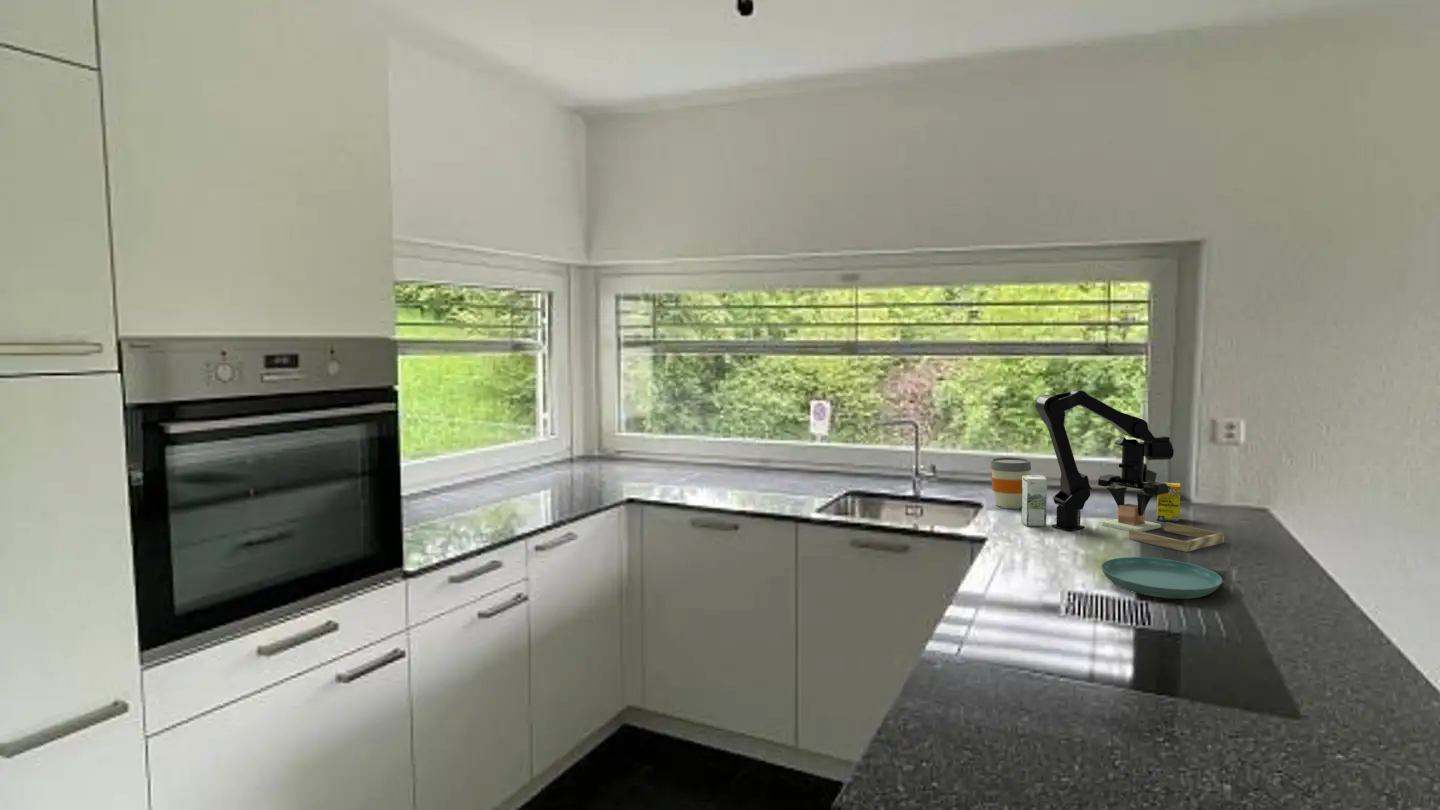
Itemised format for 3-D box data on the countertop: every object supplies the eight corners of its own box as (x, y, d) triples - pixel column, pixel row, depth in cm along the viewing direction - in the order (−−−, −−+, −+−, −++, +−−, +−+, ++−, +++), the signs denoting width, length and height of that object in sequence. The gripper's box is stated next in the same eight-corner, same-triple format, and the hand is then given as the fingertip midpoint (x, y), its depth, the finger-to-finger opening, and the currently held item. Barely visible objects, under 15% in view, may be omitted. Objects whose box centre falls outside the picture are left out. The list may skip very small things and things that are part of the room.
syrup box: (1040, 522, 249) (1041, 474, 248) (1046, 527, 243) (1047, 478, 242) (1021, 522, 250) (1021, 474, 248) (1026, 527, 244) (1027, 478, 242)
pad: (1136, 532, 234) (1137, 529, 234) (1102, 525, 244) (1102, 521, 244) (1160, 527, 240) (1160, 524, 240) (1125, 520, 249) (1125, 516, 249)
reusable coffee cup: (1033, 510, 265) (1034, 463, 264) (992, 509, 268) (992, 463, 267) (1027, 502, 278) (1027, 457, 276) (987, 501, 280) (988, 457, 279)
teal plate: (1156, 608, 174) (1156, 593, 173) (1077, 575, 197) (1078, 562, 196) (1248, 596, 180) (1249, 581, 179) (1162, 566, 203) (1162, 552, 203)
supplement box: (1156, 521, 248) (1157, 484, 247) (1156, 517, 253) (1157, 481, 252) (1179, 523, 245) (1180, 486, 244) (1179, 518, 250) (1180, 482, 249)
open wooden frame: (1185, 552, 214) (1186, 542, 214) (1128, 539, 228) (1129, 530, 228) (1223, 542, 222) (1224, 533, 222) (1166, 530, 236) (1166, 521, 236)
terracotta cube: (1133, 525, 238) (1134, 508, 238) (1118, 522, 243) (1118, 505, 242) (1144, 523, 241) (1145, 506, 240) (1128, 520, 245) (1129, 503, 245)
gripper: (1181, 462, 236) (1179, 516, 237) (1121, 454, 252) (1119, 504, 254) (1156, 465, 231) (1155, 521, 232) (1097, 457, 247) (1096, 509, 248)
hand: (1131, 513), depth 242 cm, fingers open, 6 cm apart
